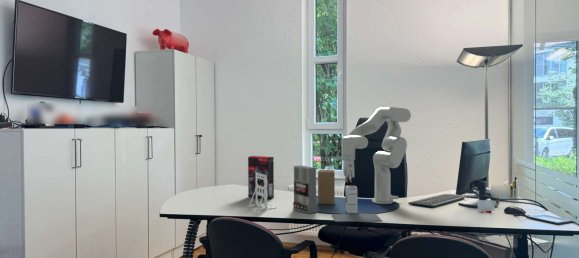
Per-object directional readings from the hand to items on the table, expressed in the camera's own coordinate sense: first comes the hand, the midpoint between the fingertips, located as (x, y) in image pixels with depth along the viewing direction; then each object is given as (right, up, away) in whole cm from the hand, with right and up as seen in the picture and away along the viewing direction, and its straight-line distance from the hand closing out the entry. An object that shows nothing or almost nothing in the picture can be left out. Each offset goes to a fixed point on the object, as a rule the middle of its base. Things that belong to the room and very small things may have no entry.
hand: (348, 189), depth 230 cm
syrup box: (0, -12, -8) cm, 14 cm away
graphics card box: (-53, -11, +32) cm, 63 cm away
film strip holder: (-50, -12, +4) cm, 52 cm away
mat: (+1, -12, -21) cm, 25 cm away
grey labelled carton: (-26, -12, -5) cm, 29 cm away
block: (-11, -11, +15) cm, 22 cm away
